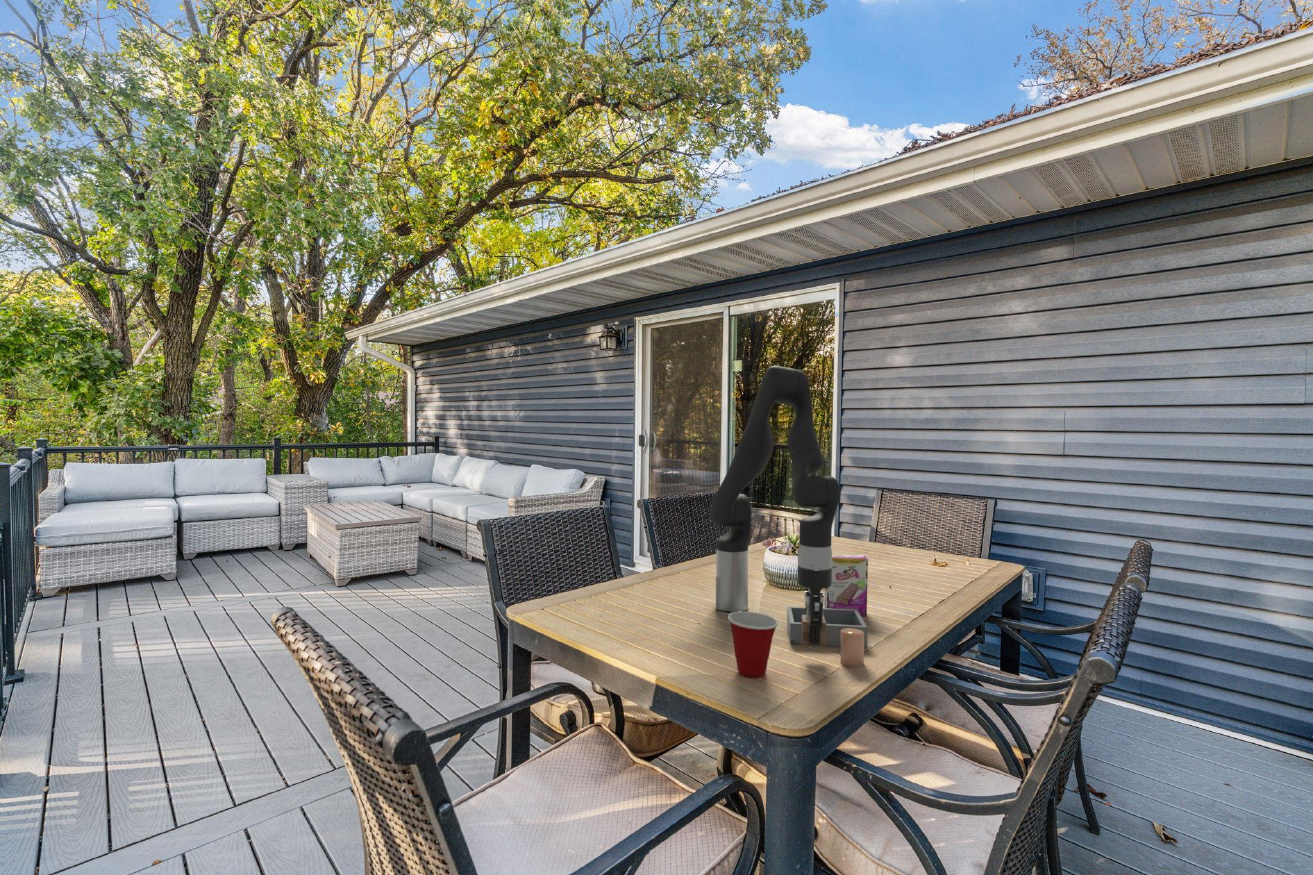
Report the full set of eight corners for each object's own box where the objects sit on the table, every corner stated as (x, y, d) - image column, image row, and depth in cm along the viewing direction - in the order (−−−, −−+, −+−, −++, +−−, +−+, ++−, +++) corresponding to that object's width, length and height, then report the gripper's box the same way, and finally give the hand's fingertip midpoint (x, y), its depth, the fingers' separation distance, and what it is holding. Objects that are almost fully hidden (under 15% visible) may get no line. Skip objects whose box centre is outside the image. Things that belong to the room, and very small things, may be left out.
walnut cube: (802, 643, 135) (803, 621, 134) (801, 635, 139) (801, 614, 139) (825, 645, 134) (826, 623, 134) (823, 637, 139) (823, 616, 138)
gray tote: (790, 643, 147) (790, 623, 147) (786, 625, 161) (787, 606, 161) (867, 647, 144) (867, 627, 144) (857, 628, 158) (857, 609, 158)
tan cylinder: (842, 666, 133) (842, 635, 133) (839, 658, 138) (839, 627, 138) (865, 668, 132) (866, 636, 132) (861, 659, 137) (861, 628, 137)
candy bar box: (827, 615, 169) (827, 557, 169) (823, 610, 174) (824, 553, 174) (868, 616, 168) (868, 558, 168) (863, 611, 173) (864, 554, 173)
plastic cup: (784, 682, 125) (784, 624, 124) (733, 684, 124) (733, 626, 124) (770, 662, 136) (770, 609, 135) (723, 663, 135) (723, 610, 134)
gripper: (795, 556, 144) (794, 626, 144) (799, 571, 130) (798, 649, 130) (828, 557, 142) (826, 628, 143) (836, 573, 128) (834, 652, 129)
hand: (813, 638), depth 137 cm, fingers closed on walnut cube, 5 cm apart
